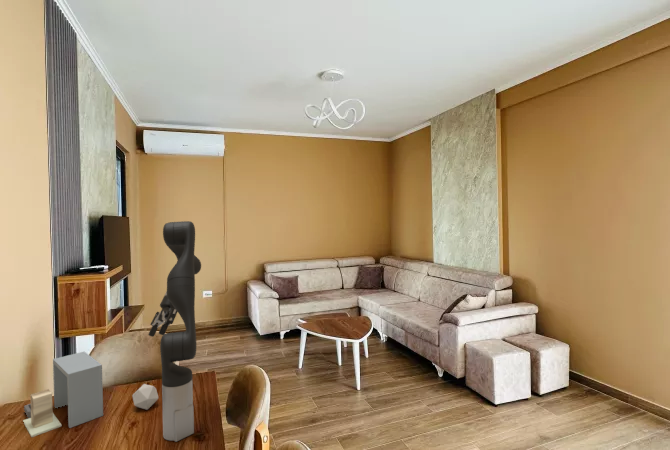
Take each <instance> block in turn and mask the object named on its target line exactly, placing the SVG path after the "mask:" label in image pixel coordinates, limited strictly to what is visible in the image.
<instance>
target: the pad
mask: <svg viewBox="0 0 670 450" xmlns="http://www.w3.org/2000/svg"><path fill="white" fill-rule="evenodd" d="M22 422H24V423H23V424H24V426H25V428H26V430H27V432H28V434H29V435H30V437H31V438H34V437H36V436H38V435H42V434H44V433H47V432H50V431H52V430H56V429H58V428H61V427H62V423H61V422H60V421H59V419H58V418H57V417H56V415H55V414H54V413H53V422H51V423H48V424H45V425H42V426H40V427H37V428H34V427H33V425H32V423H31V418H26V419H23V420H22Z"/></svg>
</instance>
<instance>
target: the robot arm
mask: <svg viewBox="0 0 670 450" xmlns="http://www.w3.org/2000/svg"><path fill="white" fill-rule="evenodd" d="M162 238H163V241H164V243H165V246H167V248H168V249H169V250H171V252H172V253H173V254H174V255H175V257H176V260H177V261H176V262H175V264H174V265H173V267H172V268H171V270H170V272H169V273H168V274H167V278H166V291H165V293H164V296H163V297H162V300H161V302H160V303H159V307H160V308H161V310H160V311H157V312H155V315H154V316H153V318H152V321H151V322H150V324H149V325H150V326H151V327H150V330H149V331H148V332H149V333H148V334H147V335H148V336H149V337H151V338H152V337H153V338H154V336H155V335H156V334H157V331H158V328H159V327H160V326H161V327H160V329H159V331H158V335H161V338H160V345H159V348H160V349H159V351H160V352H159V353H160V363H161V395H162V396H161V399H162V401H161V402H162V437H163V438H164V440H167V441H174V442H178V441H181V440H183V439H185V438H186V437H189V436H191V435H193V434H195V417H194V416H195V414H194V411H195V410H194V402H193V401H194V399H193V396H194V395H193V394H194V393H193V392H194V391H193V390H194V389H193V371H192V369H191V368H189V367H187V366H183V365H178V364H176V362H183V361H190V360H192V359H194V358H195V357H196V354H197V330H196V329H197V328H196V318H195V317H196V315H195V299H196V298H195V297H196V296H195V295H196V282H195V281H196V278H195V277H196V276H195V275H197V274H199V273H200V271H201V270H202V262H201V260H200V259H199V257H197V256H196V255H195V246H196V245H195V243H196V228H195V224H194V222H192V221H187V220H183V221H171V222H167V223H165V224H164V225H163V228H162ZM177 314H179V316H180V318H181V319H182V322H183V323H184V326H185V330H184V331H177V332H169V333H166V332H167V330H168V327H169V326H170V325H172V324H173V323H174V321H175V319H176V317H177Z"/></svg>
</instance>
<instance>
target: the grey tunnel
mask: <svg viewBox="0 0 670 450" xmlns="http://www.w3.org/2000/svg"><path fill="white" fill-rule="evenodd" d="M52 371H53V373H52V374H53V375H52V376H53V379H52V380H53V408H54V407H55V408H57V409H58V407H60V408H62V406H63V407H66V406H67V416H68V417H67V418H68V419H67V421H68V422H67V423H68V424H67V426H68V428H69V429H72V428H73V427H74V428H75V427H77V426H79V425H81V424H84V423H87V422H90V421H92V420H95V419H97V418H100V417H104V402H103V400H104V397H103V395H104V394H103V393H104V391H103V387H104V386H103V364H101V363H100V362H99V361H97V360H96V359H95V358H93V357H92V356H91V355H90V354H88V353H87V352H85V351H81V352H80V351H79V352H77V353H72V354H68V355H65V356H60V357H55V358H52ZM65 405H66V406H65ZM55 408H54V409H55Z"/></svg>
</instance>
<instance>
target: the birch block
mask: <svg viewBox="0 0 670 450" xmlns="http://www.w3.org/2000/svg"><path fill="white" fill-rule="evenodd" d="M29 396H30V404H31V423H32V425H33V427H34V428H37V427H40V426H42V425H45V424H48V423H51V422H53V414H54V412H53V408H54V407H53V393H52V391H51V390H50V389H49V388H48V389H44V390H41V391H38V392H35V393H31V394H30V395H29Z"/></svg>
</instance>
